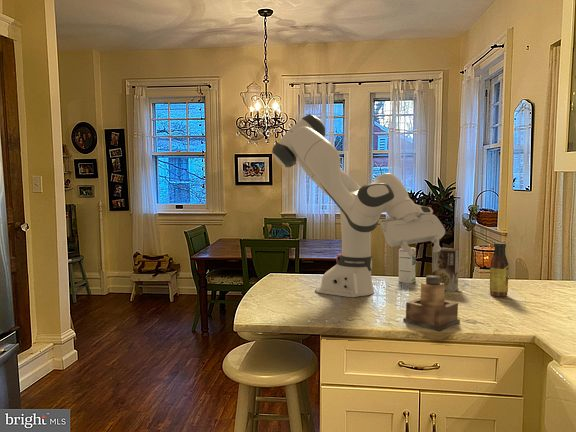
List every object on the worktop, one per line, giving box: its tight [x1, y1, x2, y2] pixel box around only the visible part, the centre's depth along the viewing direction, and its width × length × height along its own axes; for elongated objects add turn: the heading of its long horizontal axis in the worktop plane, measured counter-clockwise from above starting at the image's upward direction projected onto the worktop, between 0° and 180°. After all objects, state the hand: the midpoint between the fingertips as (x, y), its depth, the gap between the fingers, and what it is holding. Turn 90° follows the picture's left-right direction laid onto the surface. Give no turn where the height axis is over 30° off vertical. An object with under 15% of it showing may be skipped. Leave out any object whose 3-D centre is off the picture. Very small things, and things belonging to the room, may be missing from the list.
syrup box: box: [398, 246, 417, 284], centre depth 189 cm, size 6×6×14 cm
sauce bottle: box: [489, 242, 510, 298], centre depth 167 cm, size 7×6×20 cm
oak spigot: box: [420, 274, 446, 308], centre depth 135 cm, size 5×5×13 cm
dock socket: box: [403, 297, 461, 332], centre depth 136 cm, size 12×12×6 cm
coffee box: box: [431, 247, 460, 292], centre depth 176 cm, size 9×6×16 cm
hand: (425, 253), depth 133 cm, fingers open, 8 cm apart
